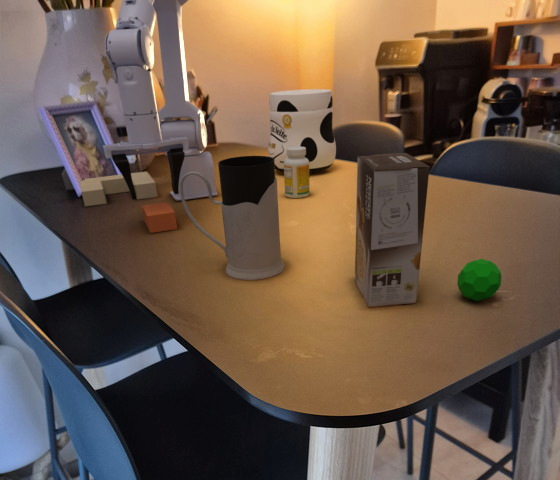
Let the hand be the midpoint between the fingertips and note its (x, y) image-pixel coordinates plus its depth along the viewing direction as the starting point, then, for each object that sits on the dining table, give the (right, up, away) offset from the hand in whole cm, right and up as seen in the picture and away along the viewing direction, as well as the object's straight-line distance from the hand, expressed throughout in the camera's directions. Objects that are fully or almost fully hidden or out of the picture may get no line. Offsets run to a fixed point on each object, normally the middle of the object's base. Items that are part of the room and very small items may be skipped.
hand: (155, 195), depth 94 cm
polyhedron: (+47, -24, -31) cm, 61 cm away
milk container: (+29, +20, +39) cm, 53 cm away
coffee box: (+37, -22, -28) cm, 51 cm away
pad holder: (-15, +9, +26) cm, 31 cm away
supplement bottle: (+27, +6, +17) cm, 32 cm away
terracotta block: (0, -5, +3) cm, 6 cm away
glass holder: (+17, -17, -18) cm, 30 cm away
